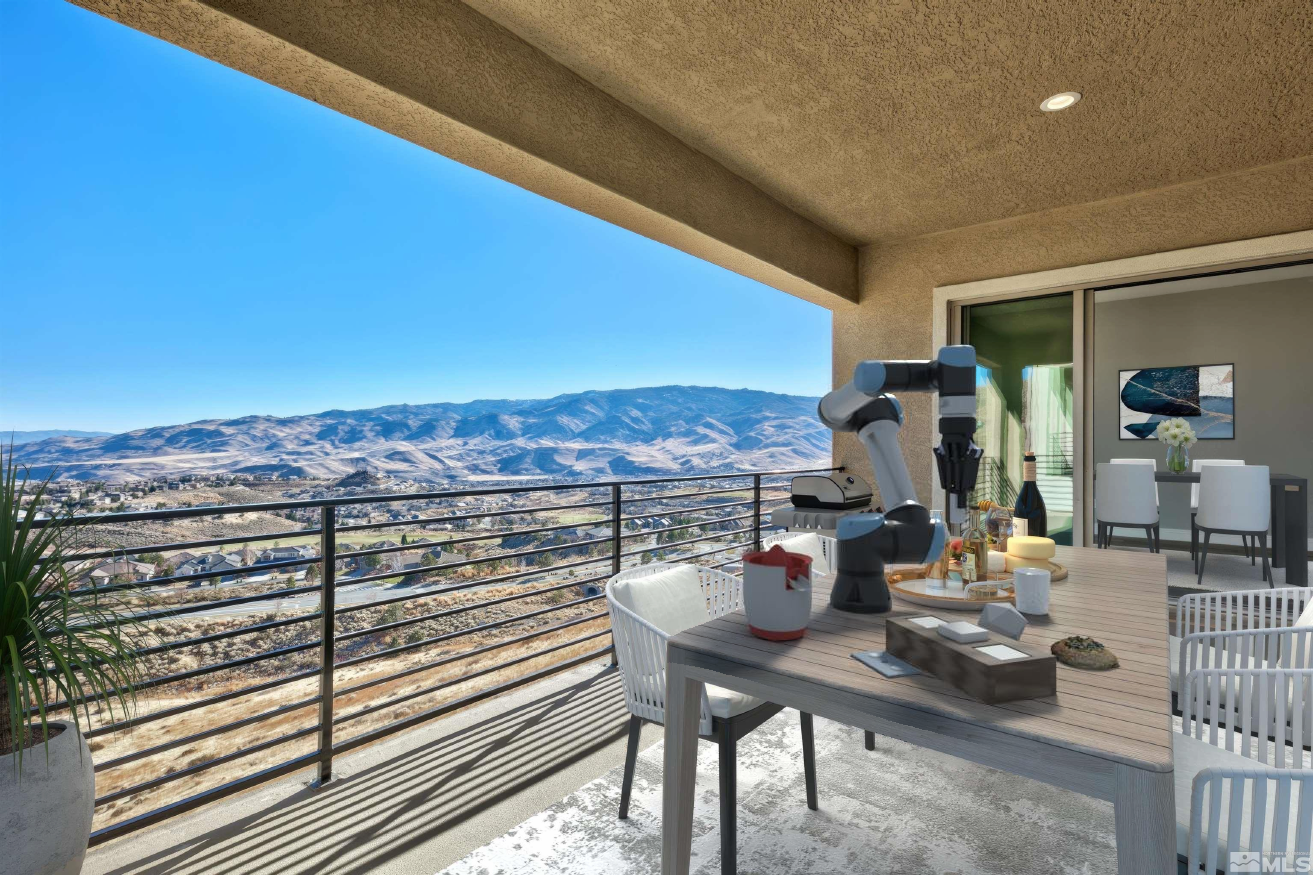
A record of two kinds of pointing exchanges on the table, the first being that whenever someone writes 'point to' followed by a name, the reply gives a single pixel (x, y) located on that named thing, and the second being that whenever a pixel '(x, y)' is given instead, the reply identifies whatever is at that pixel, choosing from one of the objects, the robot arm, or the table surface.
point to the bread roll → (1083, 653)
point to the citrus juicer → (777, 593)
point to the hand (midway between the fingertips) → (957, 522)
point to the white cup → (1032, 590)
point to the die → (1003, 620)
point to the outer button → (1002, 652)
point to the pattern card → (885, 663)
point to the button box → (973, 661)
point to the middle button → (963, 632)
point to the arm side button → (927, 621)
